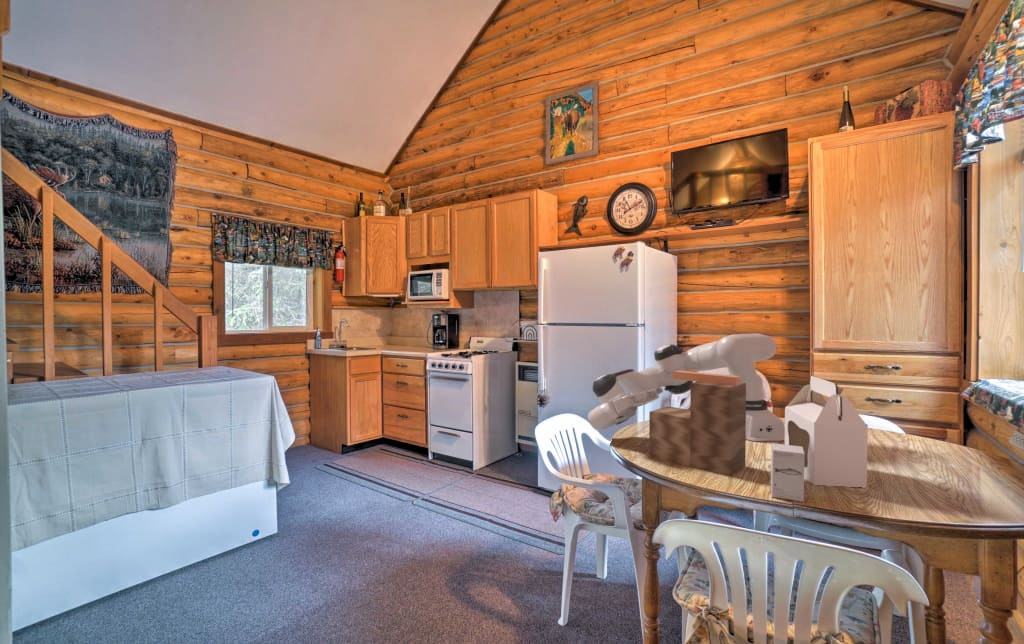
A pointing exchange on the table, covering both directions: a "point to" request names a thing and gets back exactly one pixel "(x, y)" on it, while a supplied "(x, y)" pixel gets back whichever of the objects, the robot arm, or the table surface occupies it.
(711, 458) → the stepped stand
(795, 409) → the gable box
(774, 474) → the supplement box
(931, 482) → the table surface
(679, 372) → the bar
